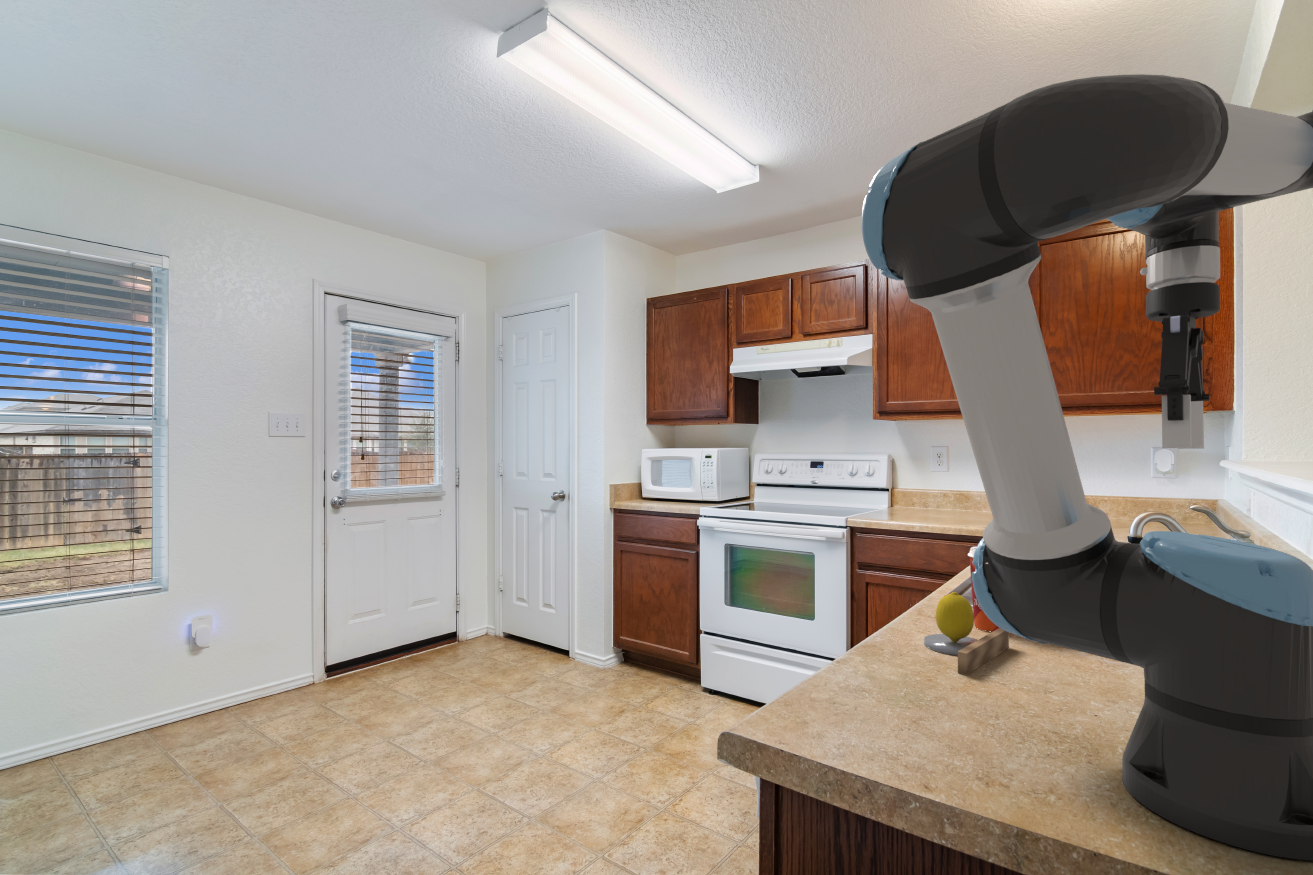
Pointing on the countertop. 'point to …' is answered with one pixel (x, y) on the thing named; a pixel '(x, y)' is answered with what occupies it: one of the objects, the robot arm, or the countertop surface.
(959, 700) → the countertop surface
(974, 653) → the divider
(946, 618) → the lemon
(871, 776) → the countertop surface
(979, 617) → the paper cup
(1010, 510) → the robot arm
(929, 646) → the coaster
